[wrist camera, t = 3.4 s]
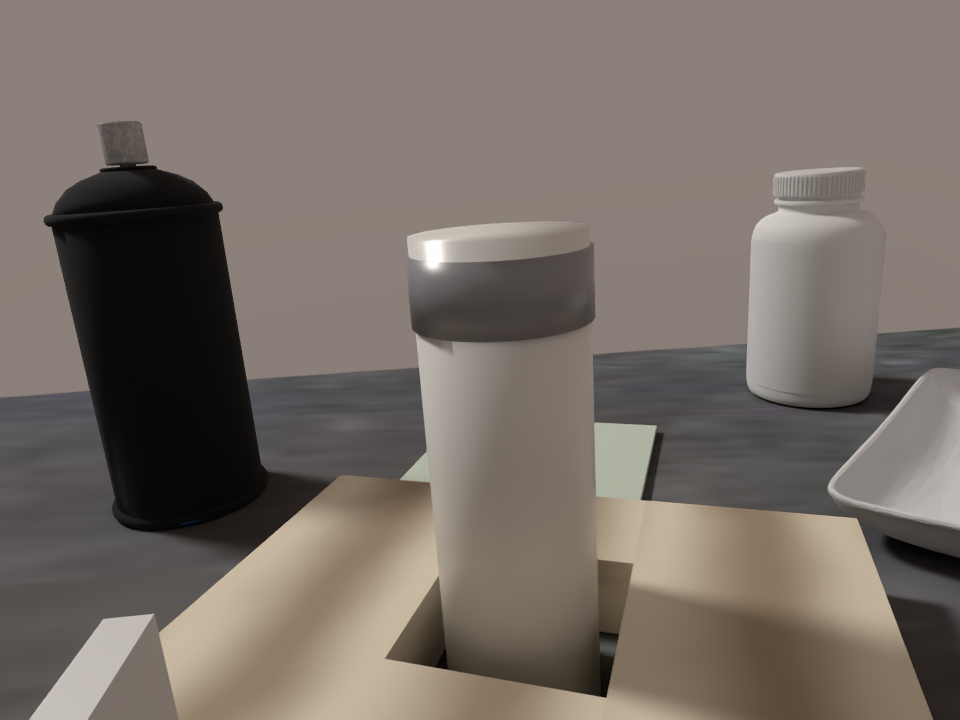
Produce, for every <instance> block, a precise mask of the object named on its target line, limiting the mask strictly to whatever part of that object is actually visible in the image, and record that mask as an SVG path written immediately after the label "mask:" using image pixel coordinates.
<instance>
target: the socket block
mask: <svg viewBox="0 0 960 720" xmlns="http://www.w3.org/2000/svg"><path fill="white" fill-rule="evenodd" d="M596 519H597V561H598V603H599V631H600V632H606V633H613V634H619V639H618V644H617V649H616V654H615V659H614V664H613V669H612V674H611V679H610V683H609V688H608V693H607V698H604V697H598V696H593V695H587V694H581V693H576V692H570V691H564V690H559V689H553V688H547V687H542V686H536V685H530V684H525V683H519V682H513V681H508V680H502V679H496V678H491V677H485V676H479V675H474V674H468V673H462V672H457V671H451V670H445V669H440V668H435V667H436V665H437V663H438V661H439V659H440V658H441V656H442V654H443V652H444V650H445V648H446V646H445V635H444V625H443V614H442V604H441V593H440V582H439V572H438V561H437V551H436V540H435V530H434V519H433V508H432V498H431V487H430V482H419V481H407V480H395V479H383V478H371V477H360V476H348V475H340V476H339V477H338V478H337V479H336V480H335V481H333V482H332V483H331V484H330V485H329V486H328V487H327V488H325V489H324V490H323V491H322V492H321V493H320V494H319V495H317V496H316V497H315V498H314V499H313V500H312V501H310V502H309V503H308V504H307V505H306V506H305V507H304V508H302V509H301V510H300V511H299V512H298V513H297V514H295V515H294V516H293V517H292V518H291V519H290V520H289V521H287V522H286V523H285V524H284V525H283V526H282V527H281V528H279V529H278V530H277V531H276V532H275V533H274V534H272V535H271V536H270V537H269V538H268V539H267V540H266V541H264V542H263V543H262V544H261V545H260V546H259V547H258V548H256V549H255V550H254V551H253V552H252V553H251V554H249V555H248V556H247V557H246V558H245V559H244V560H243V561H241V562H240V563H239V564H238V565H237V566H236V567H235V568H233V569H232V570H231V571H230V572H229V573H228V574H226V575H225V576H224V577H223V578H222V579H221V580H220V581H218V582H217V583H216V584H215V585H214V586H213V587H211V588H210V589H209V590H208V591H207V592H206V593H205V594H203V595H202V596H201V597H200V598H199V599H198V600H197V601H195V602H194V603H193V604H192V605H191V606H190V607H188V608H187V609H186V610H185V611H184V612H183V613H182V614H180V615H179V616H178V617H177V618H176V619H175V620H174V621H172V622H171V623H170V624H169V625H168V626H167V627H165V628H164V629H163V630H162V631H161V632H160V633H159V636H160V641H161V645H162V649H163V654H164V658H165V662H166V667H167V671H168V675H169V680H170V684H171V688H172V693H173V697H174V701H175V705H176V710H177V714H178V718H179V720H933V718H932V715H931V713H930V710H929V707H928V705H927V702H926V699H925V697H924V694H923V692H922V689H921V686H920V684H919V681H918V678H917V676H916V673H915V670H914V668H913V665H912V662H911V660H910V657H909V654H908V652H907V649H906V647H905V644H904V641H903V639H902V636H901V633H900V631H899V628H898V625H897V623H896V620H895V617H894V615H893V612H892V610H891V607H890V604H889V602H888V599H887V596H886V594H885V591H884V588H883V586H882V583H881V580H880V578H879V575H878V573H877V570H876V567H875V565H874V562H873V559H872V557H871V554H870V551H869V549H868V546H867V543H866V541H865V538H864V536H863V533H862V530H861V528H860V525H859V522H858V520H857V518H847V517H835V516H823V515H811V514H799V513H787V512H775V511H764V510H752V509H740V508H728V507H716V506H704V505H692V504H680V503H668V502H657V501H645V500H633V499H621V498H609V497H597V496H596Z"/></svg>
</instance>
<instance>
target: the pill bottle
mask: <svg viewBox="0 0 960 720" xmlns="http://www.w3.org/2000/svg"><path fill="white" fill-rule="evenodd" d="M865 172H866V171H865V170H864V168H861V167H842V168H823V169H809V170H797V171H788V172H781V173H776V174H775V176H774V178H773V179H774V180H773V196H776V197H779V198H778V199H775V200H774V203H775V204H777V205H779V210H778V212H776V213H773V214H770V215H768V216H766V217H765V218H763V219H762V220H761V221H759V222H758V224H757V225H756V227H755V229H754V232H753V235H752V241H751V264H750V291H749V292H750V293H749V317H748V344H747V370H746V375H747V384H748V387H749V389H750V390H751V392H753V393H754V394H755V395H757V396H759V397H761V398H763V399H766V400H769V401H772V402H776V403H780V404H785V405H790V406H797V407H808V408H832V407H842V406H848V405H852V404H856V403H859V402H861V401H863V400H864V399H866V398H867V396H868V395H869V393H870V390H871V385H872V381H873V370H874V359H875V348H876V337H877V326H878V315H879V305H880V294H881V283H882V271H883V262H884V250H885V239H886V233H885V229H884V226H883V223H882V221H881V220H880V219H879V218H878V217H877V216H876V215H874V214H872V213H870V212H867V211H864V210H861V209H860V208H859V204H860V202H862V201H864V200H865V196H863V195H860V194H861V193H862V191H864V188H865Z"/></svg>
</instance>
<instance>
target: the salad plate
mask: <svg viewBox="0 0 960 720" xmlns="http://www.w3.org/2000/svg"><path fill="white" fill-rule="evenodd" d="M828 492H829V494H830V496H831V497H832V498H833V499H834V501H835V502H836V503H837V505H838V506H839V507H840V508H841V509H842V510H843V511H845V512H846V513H847V514H848V515H849V516H851V517H852V518H857V520H858V522H860V523H862V524H864V525H865V526H867V527H869V528H871V529H873V530H876V531H878V532H880V533H883V534H885V535H887V536H890V537H893V538H895V539H898V540H901V541H904V542H907V543H910V544H913V545H916V546H919V547H922V548H925V549H929V550H932V551H935V552H939V553H943V554H947V555H951V556H954V557H958V558H960V370H958V369H947V368H934V369H930V370H929V371H927V372H926V373H925V374H923V375H922V376H921V377H920V378H919V379H918V380H917V381H916V382H915V384H914V385H913V386H912V387H911V388H910V390H909V391H908V392H907V393H906V395H905V396H904V397H903V398H902V400H901V401H900V403H899V404H898V405H897V406H896V408H895V409H894V410H893V411H892V412H891V414H890V415H889V416H888V417H887V418H886V420H885V421H884V422H883V423H882V424H881V425H880V427H879V428H878V429H877V430H876V431H875V432H874V433H873V434H872V435H871V437H870V438H869V439H868V440H867V441H866V442H865V443H864V444H863V445H862V446H861V447H860V448H859V449H858V450H857V451H856V452H855V453H854V455H853V456H852V457H851V458H850V459H849V460H848V461H847V462H846V463H845V464H844V465H843V466H842V467H841V468H840V469H839V471H838V472H837V473H836V474H835V475H834V477H833V478H832V479H831V481H830V483H829V485H828Z"/></svg>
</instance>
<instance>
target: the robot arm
mask: <svg viewBox="0 0 960 720" xmlns="http://www.w3.org/2000/svg"><path fill="white" fill-rule="evenodd" d="M29 720H179V718H178V714H177V710H176V705H175V701H174V697H173V693H172V688H171V684H170V680H169V675H168V671H167V667H166V662H165V658H164V654H163V649H162V645H161V641H160V636H159V632H158V628H157V623H156V619H155V615H154V614H148V615H139V616H129V617H119V618H110V619H103V620H102V622H101V623H100V624H99V626H98V627H97V629H96V630H95V631H94V633H93V634H92V635H91V637H90V638H89V639H88V641H87V642H86V643H85V645H84V646H83V648H82V649H81V650H80V652H79V653H78V654H77V656H76V657H75V658H74V660H73V661H72V662H71V664H70V665H69V666H68V668H67V669H66V671H65V672H64V673H63V675H62V676H61V677H60V679H59V680H58V681H57V683H56V684H55V685H54V687H53V688H52V689H51V691H50V692H49V694H48V695H47V696H46V698H45V699H44V700H43V702H42V703H41V704H40V706H39V707H38V708H37V710H36V711H35V713H34V714H33V715H32V717H31V718H30V719H29Z"/></svg>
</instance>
